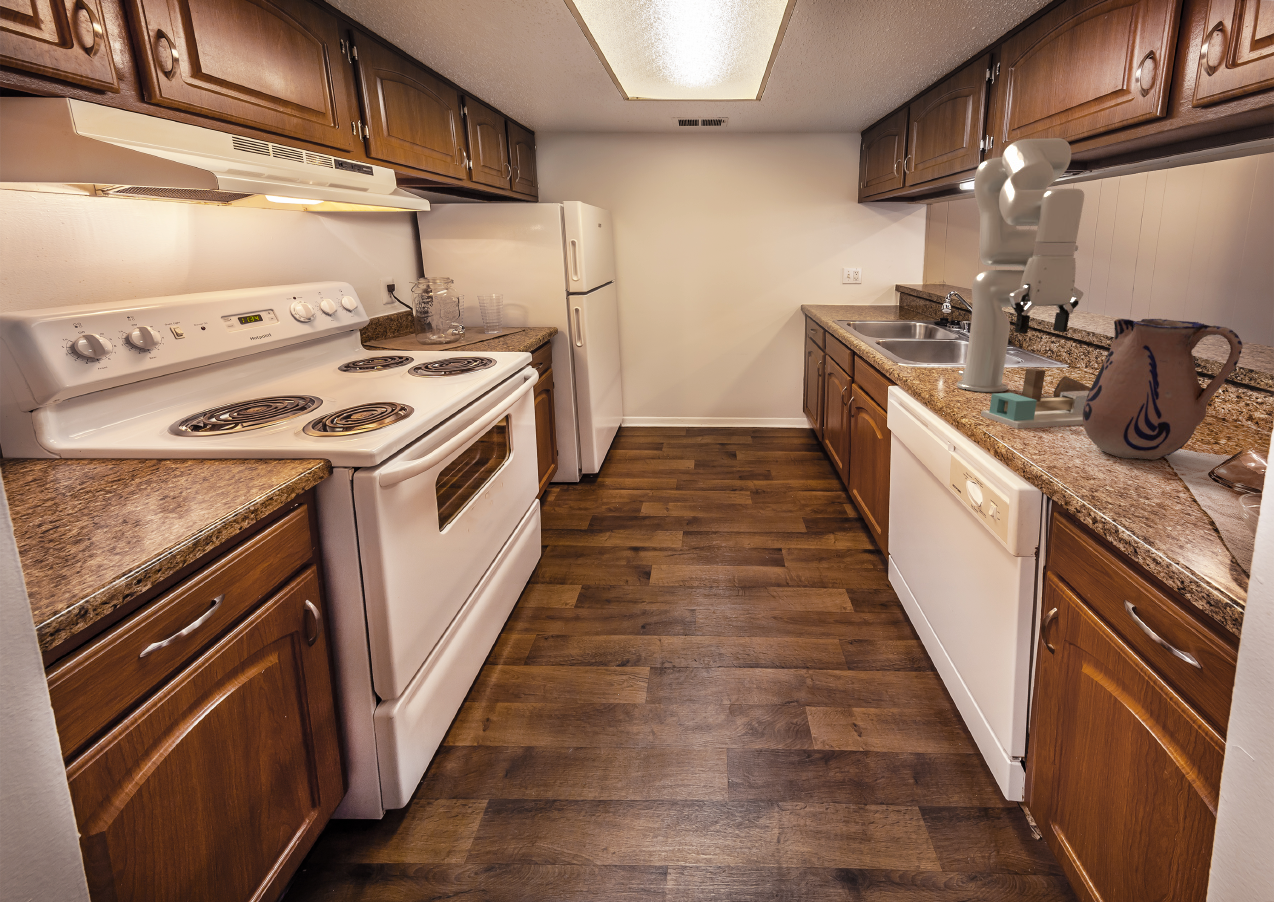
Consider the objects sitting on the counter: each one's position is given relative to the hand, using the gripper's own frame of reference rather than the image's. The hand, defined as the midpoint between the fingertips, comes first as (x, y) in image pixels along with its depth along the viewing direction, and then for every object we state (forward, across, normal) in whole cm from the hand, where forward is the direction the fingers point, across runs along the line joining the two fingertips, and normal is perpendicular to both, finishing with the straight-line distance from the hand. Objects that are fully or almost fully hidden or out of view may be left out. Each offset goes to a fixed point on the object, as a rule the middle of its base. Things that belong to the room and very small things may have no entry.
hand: (1040, 332), depth 151 cm
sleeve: (+19, -13, +1) cm, 23 cm away
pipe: (+21, -29, -13) cm, 38 cm away
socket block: (+19, +5, +1) cm, 19 cm away
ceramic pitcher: (+19, -1, +29) cm, 35 cm away
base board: (+20, -4, +1) cm, 20 cm away
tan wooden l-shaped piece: (+18, -3, +1) cm, 18 cm away
